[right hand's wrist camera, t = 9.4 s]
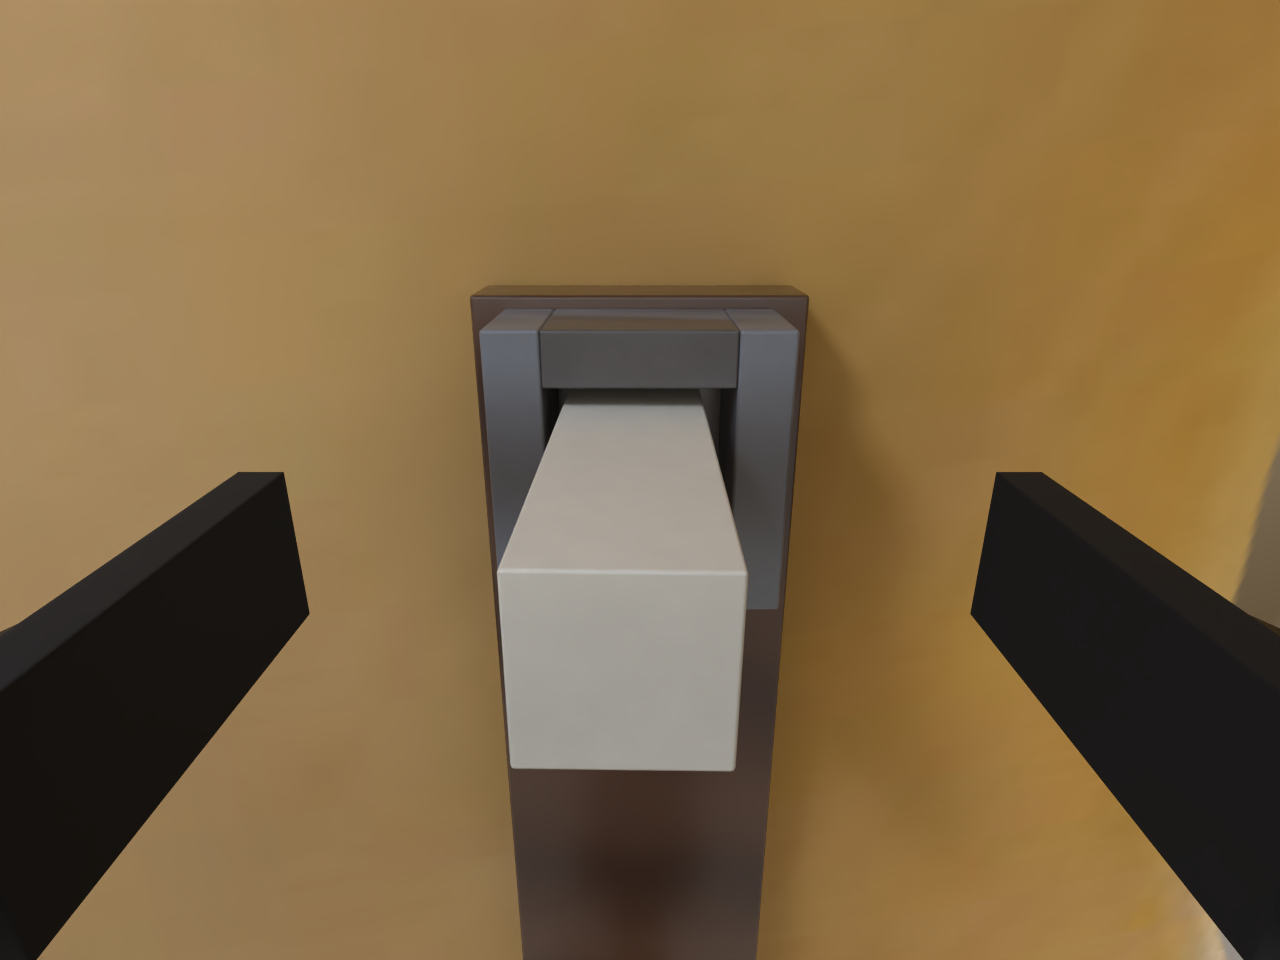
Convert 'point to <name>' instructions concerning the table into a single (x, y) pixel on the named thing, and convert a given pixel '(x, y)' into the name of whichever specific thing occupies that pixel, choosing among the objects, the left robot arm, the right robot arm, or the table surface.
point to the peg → (625, 593)
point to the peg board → (762, 509)
